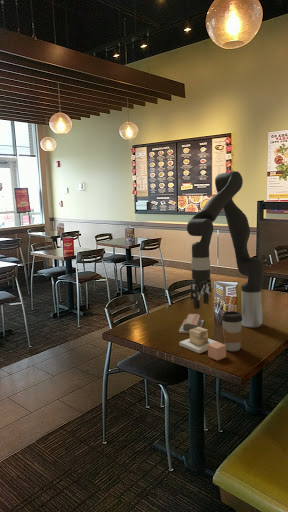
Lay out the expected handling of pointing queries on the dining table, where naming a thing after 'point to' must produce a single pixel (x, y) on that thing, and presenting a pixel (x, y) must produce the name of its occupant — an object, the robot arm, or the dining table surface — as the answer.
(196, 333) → the maple block
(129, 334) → the dining table surface
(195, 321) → the packaged product
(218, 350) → the terracotta block
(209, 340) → the plate
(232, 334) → the coffee cup
